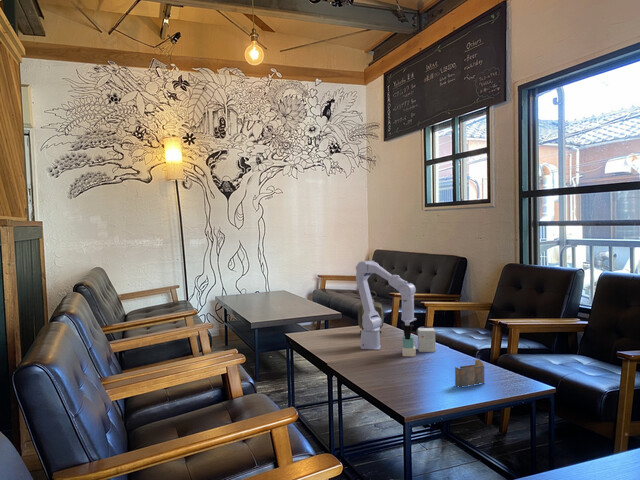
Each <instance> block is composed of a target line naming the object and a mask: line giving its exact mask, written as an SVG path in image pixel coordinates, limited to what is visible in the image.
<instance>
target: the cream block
mask: <svg viewBox="0 0 640 480" xmlns="http://www.w3.org/2000/svg"><path fill="white" fill-rule="evenodd" d="M401 345H402V347H401V349H402V357H416V353H417V351H416V350H417V349H416V345H415V344H414V348H403V344H401Z"/></svg>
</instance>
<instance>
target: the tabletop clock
mask: <svg viewBox="0 0 640 480" xmlns="http://www.w3.org/2000/svg"><path fill="white" fill-rule="evenodd" d="M370 293H374V294H375V296H371V297H372V301H373V305H374V309H375V311H377V312H378V314H379V316H380V318H381V319H382V325H381V327H380V334H382V331H381V329H382V328H383V326H384V317H385V314H384V308H383V306H382V305H383V304H382V303H380V302H375V299H374V298H376V297H377V293H376V291H375V290H370ZM357 308H358V309H357V321H358V327H359V328H360V329H361V330H365V329H364V328H363V325H362V322H363V319H362V316H363V314H364V309H363V305H362V302H361V303H359V305H358V307H357ZM361 330H359V333H360V334H361Z"/></svg>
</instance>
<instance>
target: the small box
mask: <svg viewBox="0 0 640 480" xmlns="http://www.w3.org/2000/svg"><path fill="white" fill-rule="evenodd" d="M417 350H418V351H419V352H421V353H435V352H436V350H437V349H436V330H435V328H433V327H431V328H430V327H418V328H417Z"/></svg>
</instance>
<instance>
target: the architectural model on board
mask: <svg viewBox="0 0 640 480" xmlns="http://www.w3.org/2000/svg"><path fill="white" fill-rule="evenodd" d="M474 363H475V364H468V365H461V366H460V367H457V366H455V368H454V374H455V375H454V378H455V379H454V382H455V383H454V385H456V387H457V386H459V387H462V386H468V385H474V384H479V383H484V384H485V365H484V362H482V361H481V359H480V358H478V359H474ZM459 387H458V388H459ZM462 388H463V387H462Z"/></svg>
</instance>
